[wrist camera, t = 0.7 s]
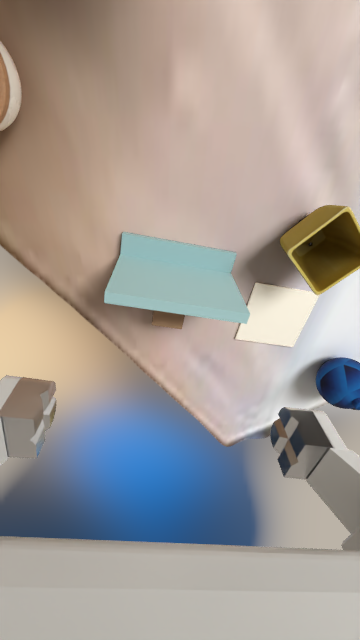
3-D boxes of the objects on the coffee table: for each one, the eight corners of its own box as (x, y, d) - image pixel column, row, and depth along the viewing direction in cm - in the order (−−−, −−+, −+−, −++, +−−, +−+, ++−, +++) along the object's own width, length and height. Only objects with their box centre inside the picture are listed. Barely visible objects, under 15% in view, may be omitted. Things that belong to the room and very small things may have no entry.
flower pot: (265, 233, 44) (286, 252, 37) (316, 193, 41) (349, 204, 34) (293, 272, 48) (317, 297, 40) (341, 237, 45) (377, 257, 37)
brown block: (157, 284, 48) (156, 298, 44) (185, 289, 49) (187, 303, 45) (153, 310, 51) (151, 326, 47) (180, 314, 52) (181, 330, 47)
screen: (123, 231, 43) (106, 265, 31) (235, 252, 45) (259, 291, 34) (120, 260, 46) (104, 302, 34) (227, 278, 48) (246, 323, 36)
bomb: (327, 391, 64) (366, 453, 51) (298, 368, 60) (333, 429, 47) (366, 365, 60) (419, 425, 47) (338, 339, 56) (388, 397, 43)
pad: (255, 282, 48) (255, 283, 48) (319, 293, 50) (320, 294, 50) (234, 337, 55) (235, 339, 54) (292, 345, 56) (293, 347, 56)
